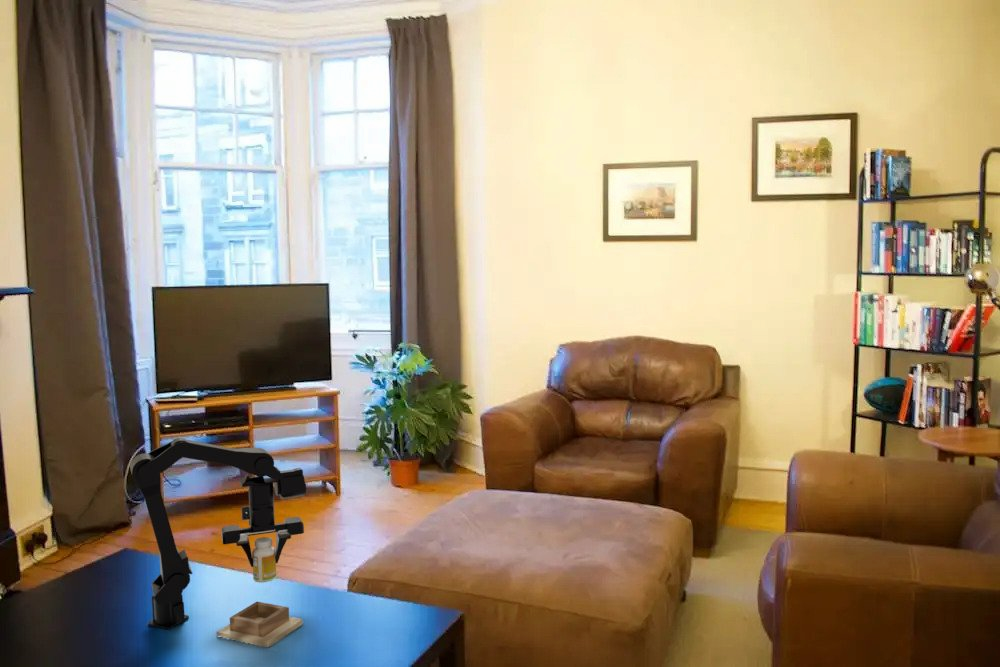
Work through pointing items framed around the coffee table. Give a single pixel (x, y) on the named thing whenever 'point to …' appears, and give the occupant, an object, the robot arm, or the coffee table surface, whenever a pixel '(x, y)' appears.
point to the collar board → (260, 624)
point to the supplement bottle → (264, 560)
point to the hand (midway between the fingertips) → (264, 564)
